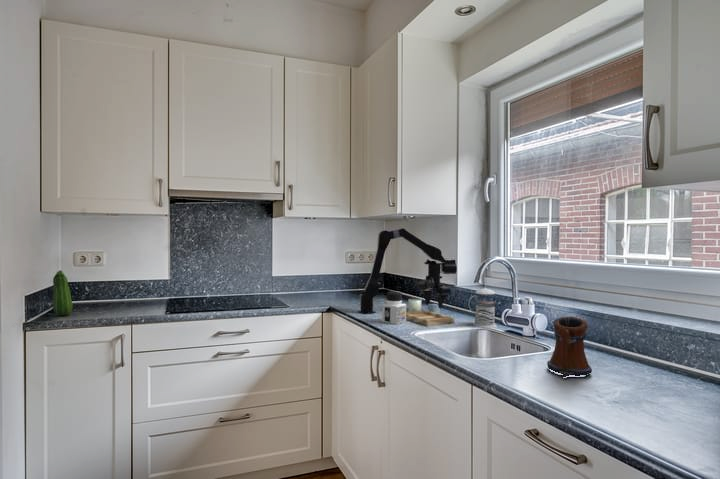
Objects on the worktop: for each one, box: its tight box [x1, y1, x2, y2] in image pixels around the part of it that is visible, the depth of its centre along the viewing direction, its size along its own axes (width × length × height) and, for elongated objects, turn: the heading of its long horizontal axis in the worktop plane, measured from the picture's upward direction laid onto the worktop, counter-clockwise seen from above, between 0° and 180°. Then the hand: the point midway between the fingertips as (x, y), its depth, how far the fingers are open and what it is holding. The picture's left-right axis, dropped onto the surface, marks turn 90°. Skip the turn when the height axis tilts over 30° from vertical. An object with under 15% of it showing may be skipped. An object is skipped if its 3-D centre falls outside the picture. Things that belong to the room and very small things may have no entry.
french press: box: [468, 266, 498, 329], centre depth 187 cm, size 10×12×25 cm
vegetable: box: [52, 270, 74, 317], centre depth 195 cm, size 7×7×20 cm
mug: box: [546, 316, 593, 377], centre depth 123 cm, size 18×12×15 cm, turn 146°
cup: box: [407, 298, 422, 312], centre depth 208 cm, size 6×6×7 cm
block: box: [427, 303, 441, 314], centre depth 214 cm, size 4×4×4 cm
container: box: [381, 290, 407, 325], centre depth 191 cm, size 8×8×13 cm
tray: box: [406, 309, 455, 327], centre depth 195 cm, size 20×14×2 cm
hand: (433, 306), depth 213 cm, fingers open, 9 cm apart
